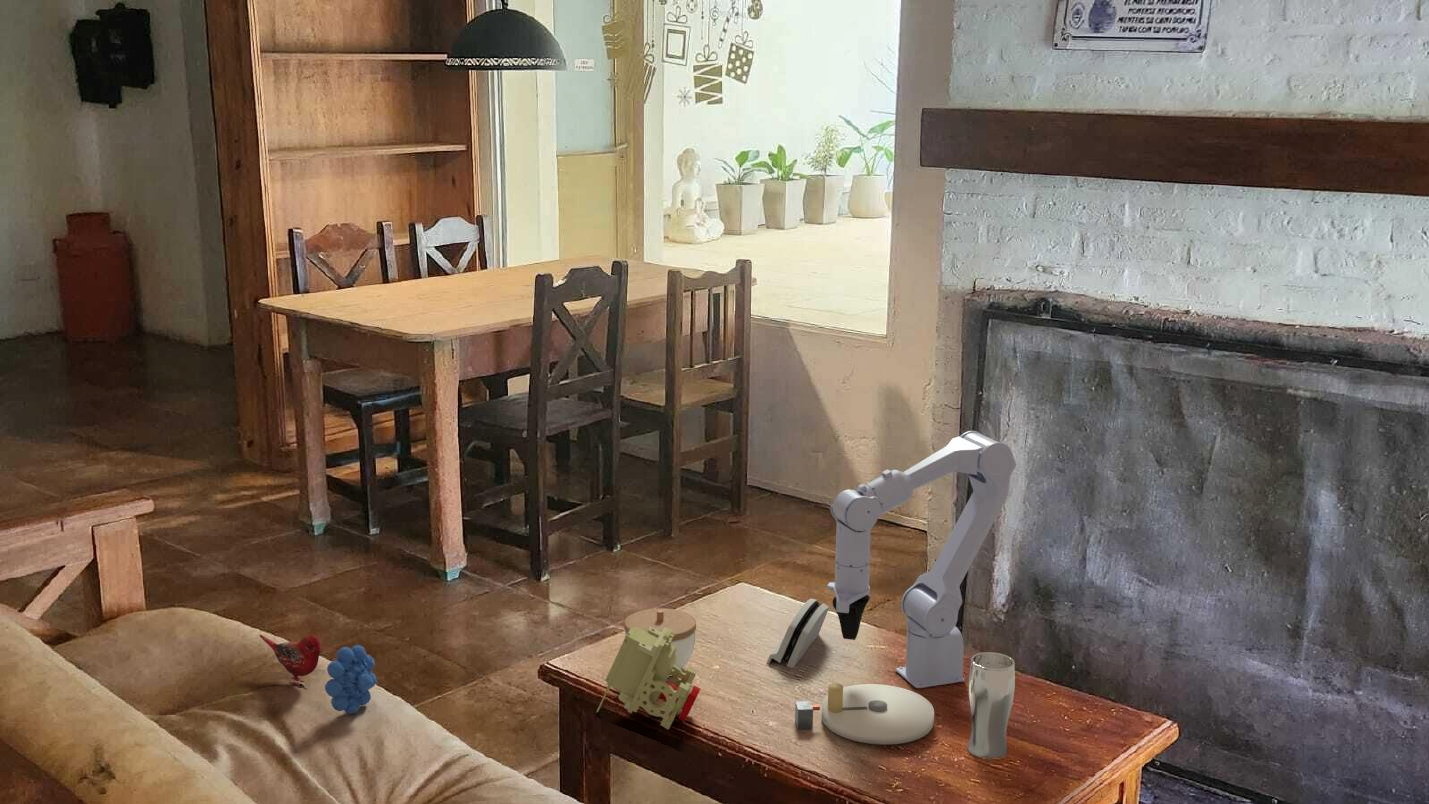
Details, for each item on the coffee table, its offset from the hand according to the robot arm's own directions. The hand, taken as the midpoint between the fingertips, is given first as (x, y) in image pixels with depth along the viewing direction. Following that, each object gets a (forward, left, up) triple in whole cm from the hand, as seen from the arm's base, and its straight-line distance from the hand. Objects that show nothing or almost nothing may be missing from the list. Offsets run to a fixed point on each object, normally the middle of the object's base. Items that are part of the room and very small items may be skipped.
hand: (849, 637), depth 226 cm
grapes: (+80, -17, -10) cm, 82 cm away
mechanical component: (+33, 0, -10) cm, 34 cm away
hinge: (+1, -18, -10) cm, 21 cm away
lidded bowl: (+28, -18, -10) cm, 35 cm away
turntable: (+1, +13, -9) cm, 16 cm away
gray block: (+13, +10, -9) cm, 19 cm away
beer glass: (-11, +27, -10) cm, 31 cm away
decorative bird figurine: (+89, -34, -10) cm, 96 cm away
